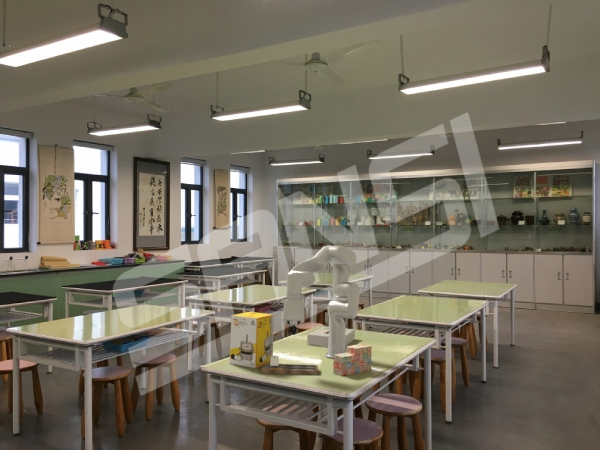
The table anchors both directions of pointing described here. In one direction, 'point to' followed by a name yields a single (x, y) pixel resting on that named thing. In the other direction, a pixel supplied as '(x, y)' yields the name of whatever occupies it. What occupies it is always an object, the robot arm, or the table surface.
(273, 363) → the fader knob
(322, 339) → the box
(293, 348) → the table surface
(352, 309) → the robot arm
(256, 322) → the packaging box
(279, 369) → the fader console
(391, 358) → the table surface
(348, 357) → the stack of blocks
